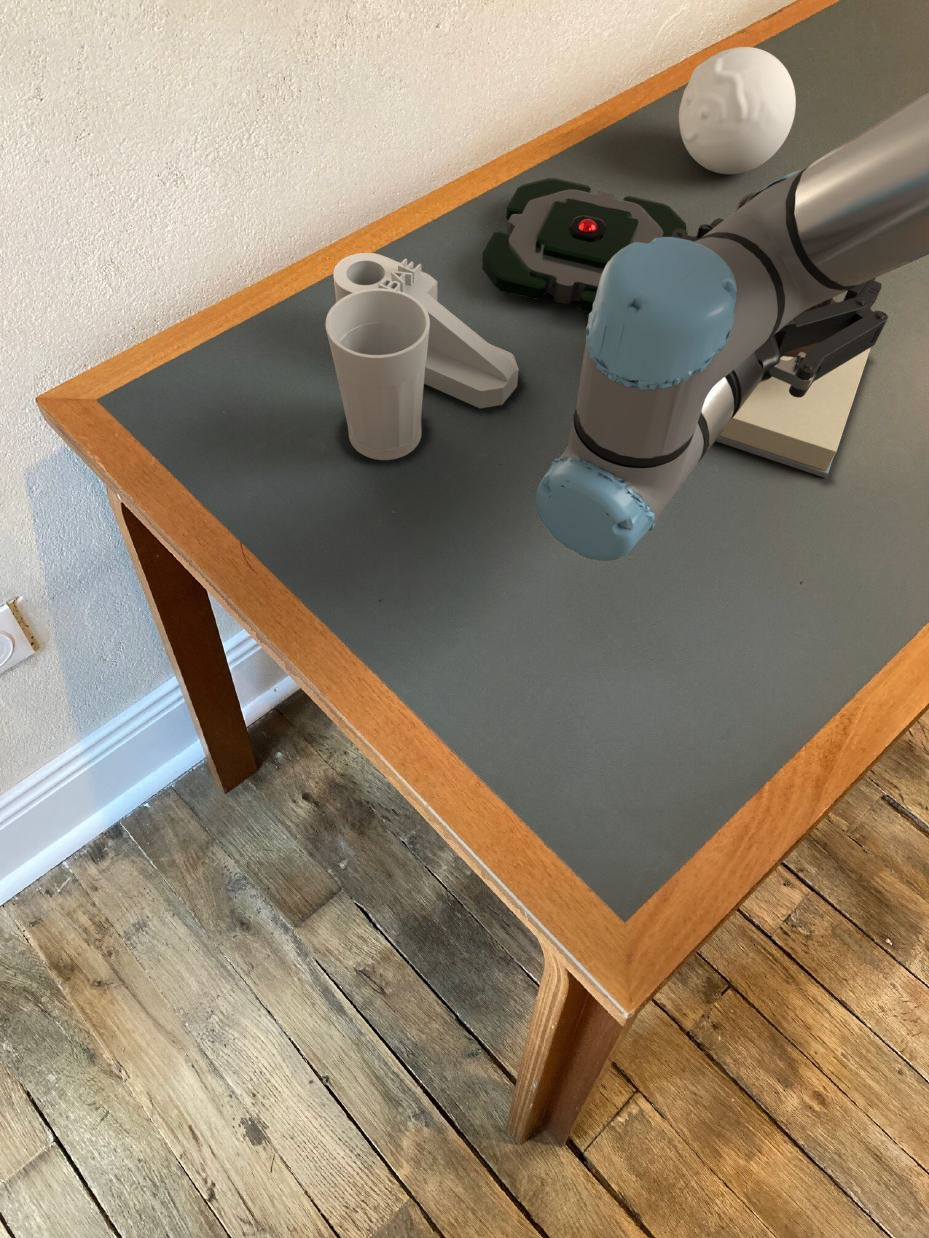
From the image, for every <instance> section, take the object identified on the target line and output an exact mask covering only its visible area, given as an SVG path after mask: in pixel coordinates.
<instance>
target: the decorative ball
mask: <svg viewBox="0 0 929 1238" xmlns="http://www.w3.org/2000/svg"><path fill="white" fill-rule="evenodd" d="M796 99H797V98H796V90H795V85H794V82H793V79H792V77H791V75H790V73H789V71H788V69H787V68H786V67H785V65H784V64H783V63H782V62H781V61H780V60H779V59H778V58H777V57H776V56H775V55H774V54H771V53H770V52H768V51H766V50H763V49H761V48H757V47H751V46H739V47H731V48H728V49H725V50H721V51H719V52H718V53H716V54H713V55H712V56H710V57H708V58H706V59H705V60H704V61H703V62H702V63H700V64H698V65H697V66H696V67H695V68H694V70H693V71H692V73H691V76H690V79H689V81H688V83H687V85H686V87H685V89H684V91H683V93H682V98H681V101H680V104H679V109H678V125H679V132H680V136H681V139H682V142H683V145H684V147H685V150H686V151H687V152H688V154H689V156H691V158H692V159H693V160H694V162H696V163H698V165H700V166H701V167H703V168H705V169H707V170H708V171H711V172H712V173H713V172H714V173H717V174H721V175H738V174H744V173H747V172H749V171H753V170H754V169H756V168H758V167H760V166H762V165H764V163H766V162H768V161H769V160H770V159H771V158H773V156H774V155H775V154H776V153H777V152H778V151H779V150H780V148H781V147H782V145H784V142H785V141H786V139H787V138H788V135H789V134H790V131H791V129H792V126H793V124H794V120H795V114H796V107H797V106H796V105H797V102H796V101H797V100H796Z"/></svg>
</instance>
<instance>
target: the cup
mask: <svg viewBox="0 0 929 1238" xmlns="http://www.w3.org/2000/svg"><path fill="white" fill-rule="evenodd" d="M429 328H430V318H429V315H428V312H427V310H426V309H425V307H424V306H423V305H422V304H421V303H420V302H419V301H418V300H417V299H415V298H414V297H412V296H410V295H408V294H406V293H403V292H400V291H396V290H392V289H382V288H376V289H366V290H361V291H357V292H354V293H352V294H349V295H347V296H345V297H344V298H342V299H340V300H339V301H338V302H337V303H336V302H335V303H334V304H333V305H332V306H331V308H330V309H329V311H328V313H327V315H326V318H325V331H326V335H327V339H328V344H329V348H330V352H331V356H332V361H333V364H334V370H335V375H336V378H337V383H338V387H339V392H340V396H341V401H342V406H343V411H344V415H345V419H346V424H347V430H348V431H347V432H348V438H349V442H350V444H351V446H352V447H353V449H355V450H356V451H357V452H358V453H359V454H361V455H362V456H365V457H366V458H369V459H372V460H379V461H390V460H391V461H392V460H396V459H399V458H402V457H405V456H407V455H409V454H410V453H412V452H413V451H414V450H415V449H416V448H417V447H418V445H419V443H420V442H421V439H422V411H423V410H422V409H423V399H424V398H423V397H424V385H425V384H424V374H425V362H426V358H427V348H428V338H429Z"/></svg>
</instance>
